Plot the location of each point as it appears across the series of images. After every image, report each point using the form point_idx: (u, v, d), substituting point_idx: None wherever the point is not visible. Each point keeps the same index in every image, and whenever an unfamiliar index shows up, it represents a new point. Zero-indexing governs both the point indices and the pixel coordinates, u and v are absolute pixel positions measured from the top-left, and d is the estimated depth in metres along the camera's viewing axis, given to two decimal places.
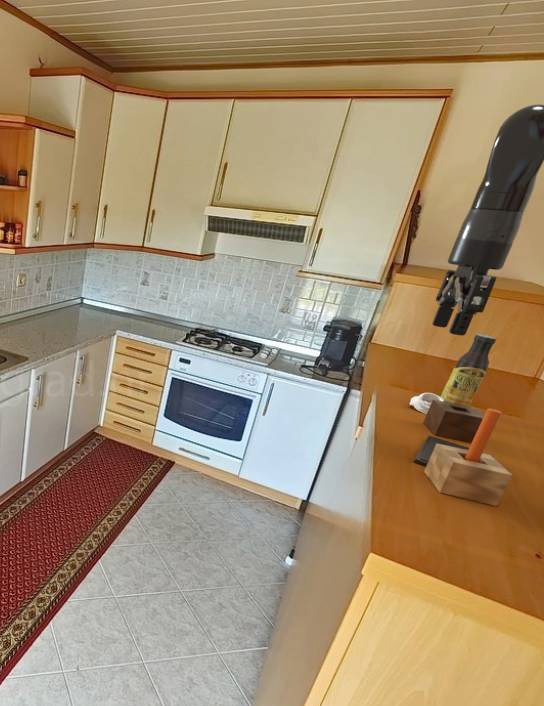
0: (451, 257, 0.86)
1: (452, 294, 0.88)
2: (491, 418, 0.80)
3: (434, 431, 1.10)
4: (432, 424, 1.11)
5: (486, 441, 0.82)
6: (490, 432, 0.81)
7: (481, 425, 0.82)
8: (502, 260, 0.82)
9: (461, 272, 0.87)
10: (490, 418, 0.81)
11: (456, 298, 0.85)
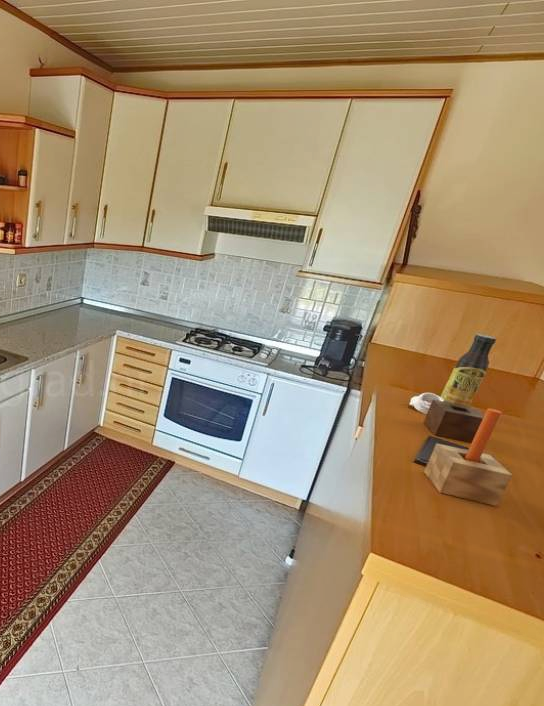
0: None
1: None
2: (491, 418, 0.80)
3: (434, 431, 1.10)
4: (432, 424, 1.11)
5: (486, 441, 0.82)
6: (490, 432, 0.81)
7: (481, 425, 0.82)
8: None
9: None
10: (490, 418, 0.81)
11: None
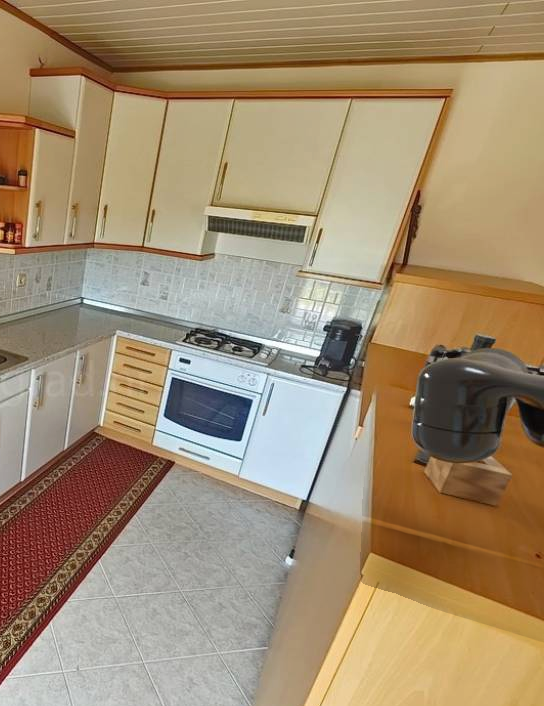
0: (495, 349, 0.62)
1: None
2: None
3: None
4: None
5: None
6: None
7: None
8: None
9: None
10: None
11: (469, 350, 0.68)
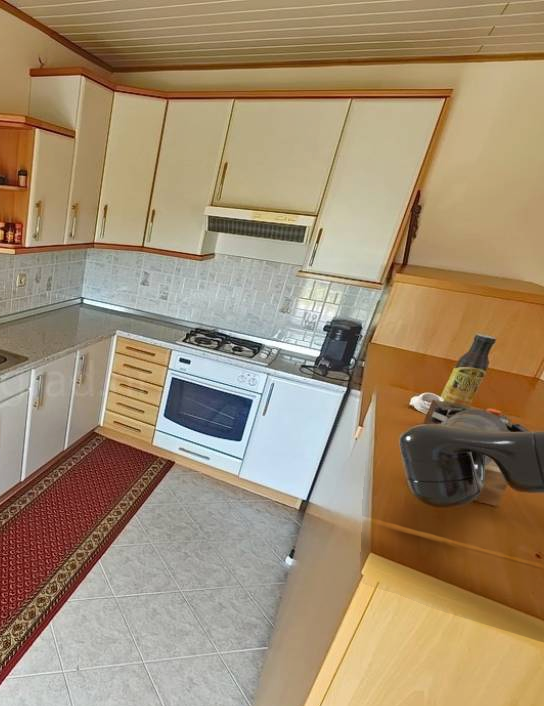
0: (480, 411, 0.74)
1: None
2: None
3: None
4: None
5: None
6: None
7: None
8: None
9: None
10: None
11: None
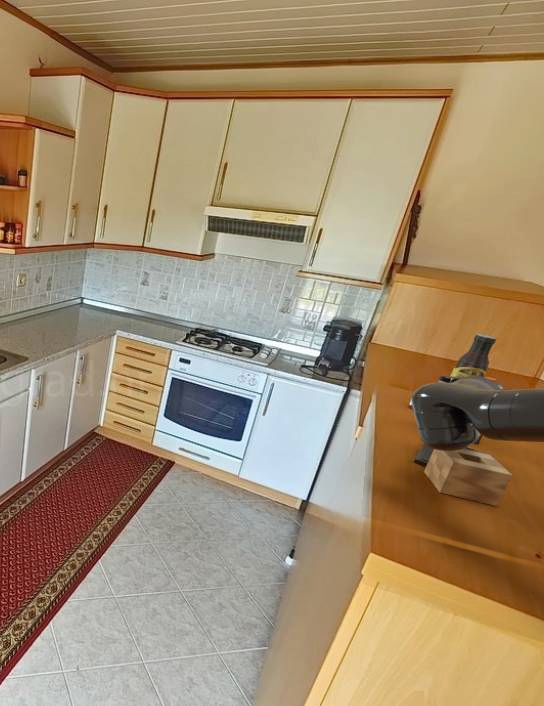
0: (479, 376, 0.87)
1: None
2: None
3: None
4: None
5: None
6: None
7: None
8: None
9: None
10: None
11: None
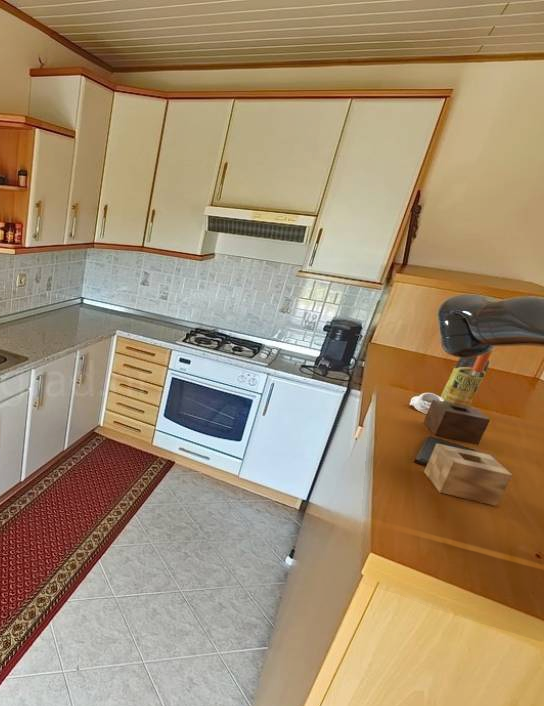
0: None
1: None
2: None
3: (434, 431, 1.10)
4: (432, 424, 1.11)
5: None
6: None
7: None
8: None
9: None
10: None
11: None
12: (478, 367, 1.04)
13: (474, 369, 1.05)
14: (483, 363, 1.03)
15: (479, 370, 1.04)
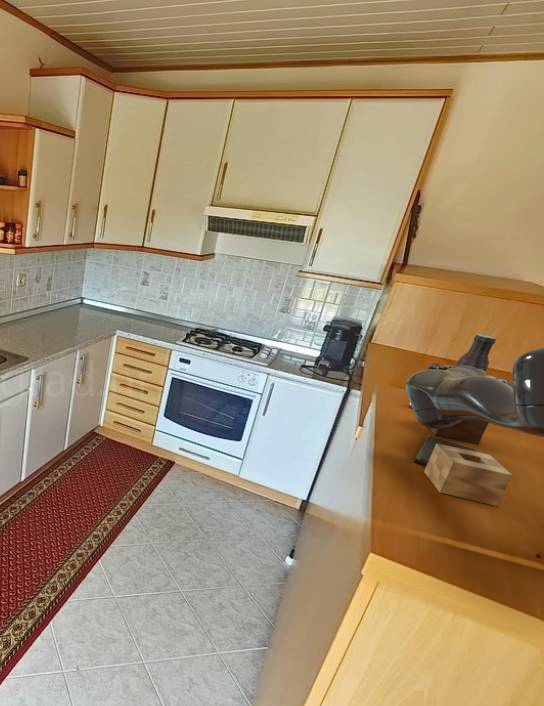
0: (466, 365, 0.99)
1: None
2: None
3: (434, 431, 1.10)
4: None
5: None
6: None
7: None
8: None
9: None
10: None
11: None
12: None
13: None
14: None
15: None
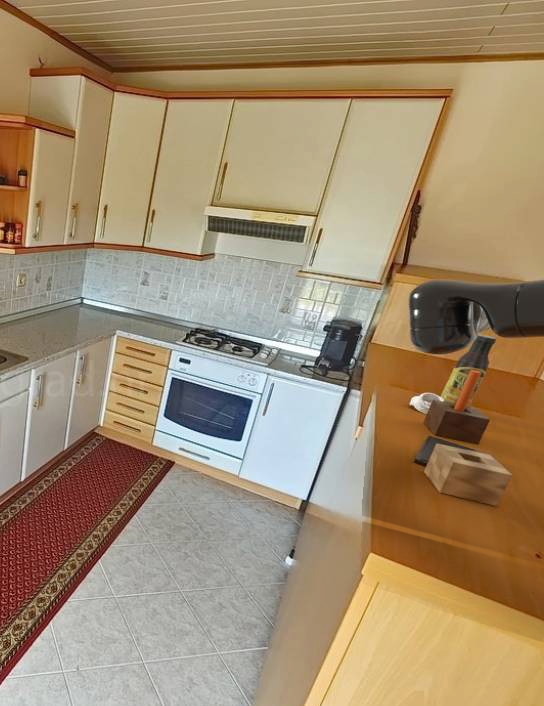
0: None
1: None
2: (473, 377, 1.06)
3: (434, 431, 1.10)
4: (432, 424, 1.11)
5: (469, 395, 1.07)
6: (472, 388, 1.06)
7: (466, 383, 1.07)
8: None
9: None
10: (472, 377, 1.06)
11: None
12: None
13: None
14: None
15: None
